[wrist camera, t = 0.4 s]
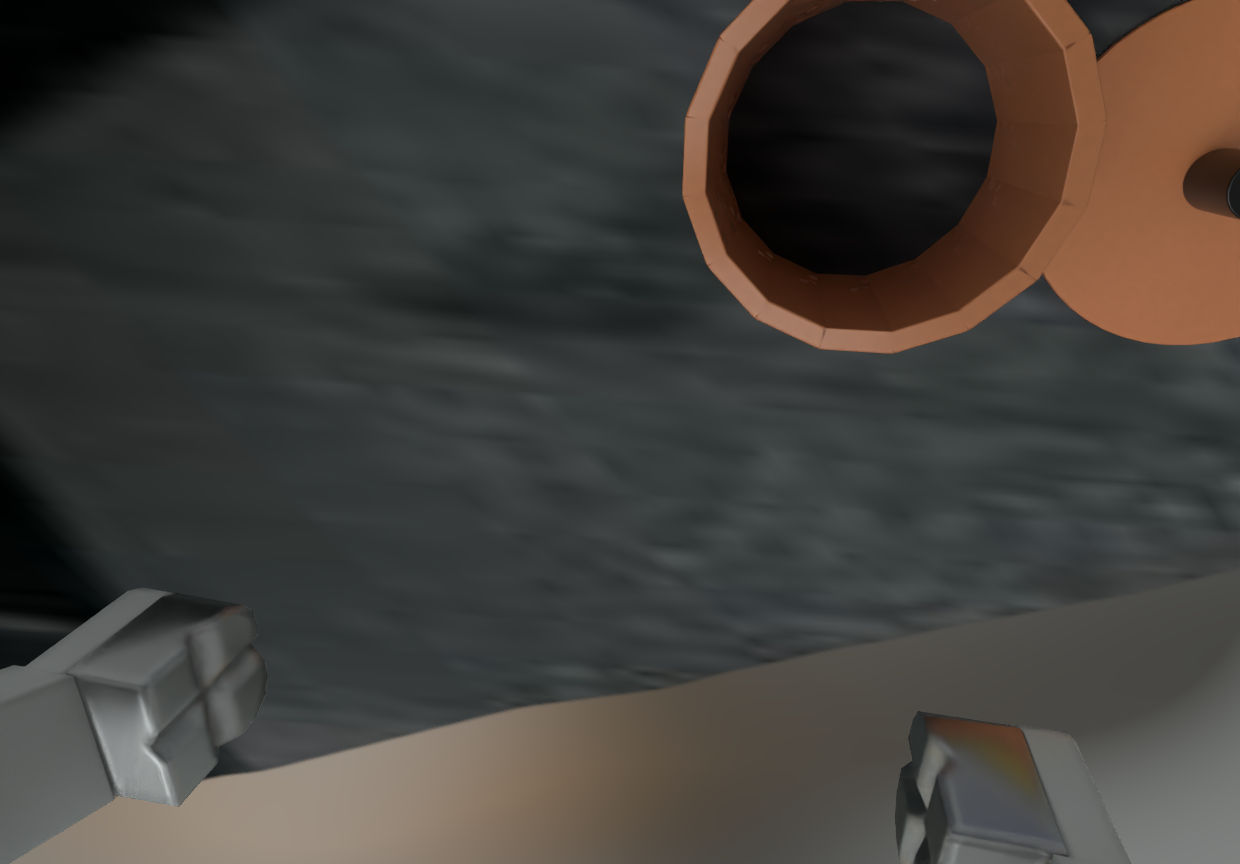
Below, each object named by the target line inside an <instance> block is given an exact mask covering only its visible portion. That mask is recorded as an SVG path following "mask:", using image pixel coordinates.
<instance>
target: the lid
mask: <svg viewBox="0 0 1240 864" xmlns="http://www.w3.org/2000/svg"><path fill="white" fill-rule="evenodd" d="M1097 64H1098V70H1099V75H1100V81H1101V86H1102V92H1103V97H1104V103H1105V108H1106V114H1107V120H1106V121H1107V126H1106V130H1105V135H1104V139H1103V143H1102V147H1101V151H1100V156H1099V160H1098V164H1097V168H1096V173H1095V177H1094V181H1093V185H1092V189H1091V194H1090V198H1089V202H1088V206H1087V207H1086V210H1085V212H1084V213H1083V215H1082V216H1081V217H1080V219H1079V220H1078V222H1077V223H1076V225H1075V226H1074V228H1073V229H1072V231H1071V232H1070V234H1069V235H1068V237H1067V238H1066V239H1065V241H1064V242H1063V244H1062V245H1061V247H1060V248H1059V250H1058V251H1057V253H1056V254H1055V256H1054V257H1053V259H1052V260H1051V262H1050V263H1049V264H1048V266H1047V267H1046V269H1045V270H1044V272H1043V273H1042V274H1043V276H1044V277H1045V279H1046V280H1047V282H1048V283H1049V285H1050V286H1051V288H1052V289H1053V290H1054V292H1055V293H1056V294H1057V295H1058V296H1059V297H1060V298H1061V299H1062V300H1063V301H1064V302H1065V303H1066V304H1067V306H1069V307H1070V308H1071V309H1072V310H1074V311H1075V312H1076V313H1078V314H1079V315H1080V316H1082V317H1083V318H1084V319H1086V320H1087V321H1089V322H1091V323H1093V324H1094V325H1096V326H1098V327H1100V328H1102V329H1103V330H1106V331H1108V332H1111V333H1114V334H1116V335H1119V336H1121V337H1124V338H1128V339H1133V340H1137V341H1141V342H1146V343H1154V344H1163V345H1194V344H1203V343H1212V342H1217V341H1222V340H1227V339H1231V338H1236V337H1240V0H1189V1H1186V2H1184V3H1182V4H1180V5H1178V6H1175V7H1173V8H1171V9H1169V10H1167V11H1165V12H1162V13H1160V14H1158V15H1157V16H1155V17H1153V18H1152V19H1150V20H1148V21H1147V22H1145V23H1143V24H1142V25H1140V26H1138V27H1137V28H1135V29H1134V30H1132V31H1131V32H1130V33H1128V34H1127V35H1126V36H1124V37H1123V38H1121V39H1120V40H1119V41H1117V42H1116V43H1115V44H1113V45H1112V46H1111V47H1110V48H1109V49H1108V50H1107V51H1105V52H1104V53H1103V54H1102V55H1101V56H1100V57H1099V58H1098V59H1097Z"/></svg>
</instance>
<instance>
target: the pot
mask: <svg viewBox="0 0 1240 864" xmlns="http://www.w3.org/2000/svg"><path fill="white" fill-rule="evenodd" d="M880 1H903V2H905V3H907V4H909V5H911V6H913V7H916V8H918V9H920V10H922V11H924V12H926V13H929V14H931V15H933V16H935V17H937V18H939V19H941V20H944V21H946V22H948V23H950V24H952V25H953V27H954V28H955V29H956V30H957V32H958V33H959V34H960V36H961V37H962V38H963V39H964V41H965V42H966V43H967V44H968V46H969V47H970V48H971V49H972V51H973V52H974V53H975V55H976V56H977V57H978V58H979V60H980V61H981V62H982V63H983V65H984V66H985V68H986V73H987V77H988V81H989V86H990V90H991V95H992V99H993V104H994V108H995V113H996V117H997V126H996V131H995V136H994V142H993V147H992V153H991V158H990V163H989V169H988V174H987V178H986V179H985V181H984V183H983V184H982V186H981V187H980V189H979V191H978V192H977V194H976V196H975V197H974V199H973V201H972V202H971V204H970V205H969V207H968V209H967V210H966V212H965V214H964V215H963V217H962V219H961V220H960V222H959V223H958V225H957V226H956V227H954V228H953V229H952V230H951V231H949V232H948V233H947V234H946V235H944V236H943V237H942V238H941V239H939V240H938V241H937V242H936V243H934V244H933V245H932V246H931V247H929V248H928V249H927V250H926V251H924V252H923V253H922V254H921V255H919V256H918V257H917V258H916V259H914V260H911V261H908V262H905V263H902V264H899V265H896V266H893V267H890V268H887V269H884V270H881V271H878V272H875V273H872V274H869V275H866V276H859V275H837V274H816V273H814V272H812V271H810V270H808V269H806V268H803V267H801V266H799V265H797V264H795V263H793V262H791V261H789V260H786V259H784V258H782V257H780V256H778V255H776V254H774V253H773V252H772V251H771V250H770V249H769V248H768V247H767V246H766V244H765V243H764V242H763V241H762V240H761V239H760V238H759V237H758V235H757V234H756V233H755V232H754V231H753V230H752V229H751V227H750V226H749V225H748V224H747V223H746V222H745V221H744V220H743V218H742V216H741V213H740V210H739V207H738V204H737V201H736V199H735V196H734V193H733V190H732V187H731V184H730V181H729V178H728V175H727V172H726V167H727V150H728V133H729V118H730V116H731V113H732V111H733V109H734V107H735V105H736V102H737V100H738V98H739V96H740V93H741V91H742V89H743V87H744V84H745V82H746V80H747V78H748V75H749V73H750V71H751V69H752V67H753V66H754V65H755V64H756V63H757V62H758V61H759V60H760V59H761V58H762V57H763V56H764V55H765V54H766V53H767V52H768V51H769V49H770V48H771V47H772V46H773V45H774V44H775V43H776V42H777V41H778V40H779V39H780V38H781V37H782V36H783V35H784V34H785V33H786V32H787V31H788V30H789V29H790V28H791V27H792V26H794V25H796V24H798V23H800V22H802V21H805V20H807V19H809V18H811V17H813V16H816V15H818V14H820V13H822V12H825V11H827V10H829V9H831V8H833V7H836V6H838V5H840V4H842V3H844V2H880ZM719 37H720V38H719V39H718V40H717V42H716V44H715V47H714V49H713V51H712V54H711V56H710V59H709V61H708V63H707V66H706V68H705V71H704V73H703V75H702V78H701V80H700V82H699V85H698V87H697V90H696V92H695V94H694V97H693V99H692V101H691V104H690V106H689V109H688V111H687V114H686V116H687V117H685V134H684V161H683V188H682V195H683V200H684V203H685V206H686V208H687V211H688V214H689V217H690V220H691V222H692V225H693V228H694V231H695V234H696V237H697V239H698V242H699V245H700V248H701V251H702V253H703V256H704V259H705V262H706V264H707V265H708V268H709V269H710V270H711V271H712V272H713V273H714V274H715V275H716V277H717V278H718V279H719V280H720V281H721V282H722V283H723V284H724V285H725V287H726V288H727V289H728V290H729V291H730V292H731V293H732V294H733V295H734V296H735V298H736V299H737V300H738V301H739V302H740V303H741V304H742V305H743V306H744V308H745V309H746V310H747V311H748V312H749V313H750V314H751V315H752V316H753V317H754V318H755V317H756V319H757V320H758V321H761V322H763V323H765V324H767V325H769V326H771V327H773V328H775V329H778V330H780V331H782V332H784V333H786V334H788V335H790V336H792V337H795V338H797V339H799V340H801V341H803V342H805V343H807V344H809V345H812V346H814V347H816V348H819V349H824V350H840V351H856V352H873V353H889V354H892V353H897V352H900V351H903V350H907V349H910V348H913V347H917V346H920V345H923V344H926V343H930V342H933V341H936V340H940V339H943V338H946V337H950V336H953V335H956V334H960V333H963V332H966V331H968V329H969V330H970V329H972V328H973V327H974V326H976V325H977V324H979V323H980V322H981V321H983V320H984V319H985V318H987V317H988V316H989V315H991V314H992V313H994V312H995V311H996V310H998V309H999V308H1000V307H1002V306H1003V305H1005V304H1006V303H1007V302H1009V301H1010V300H1011V299H1013V298H1014V297H1015V296H1017V295H1018V294H1020V293H1021V292H1022V291H1024V290H1025V289H1026V288H1028V287H1029V286H1030V285H1032V284H1033V283H1035V281H1036V280H1038V279H1039V278H1040V276H1041V275H1042V273H1043V272H1044V270H1045V269H1046V267H1047V266H1048V264H1049V263H1050V262H1051V260H1052V259H1053V257H1054V256H1055V254H1056V253H1057V251H1058V250H1059V248H1060V247H1061V245H1062V244H1063V242H1064V241H1065V239H1066V238H1067V237H1068V235H1069V234H1070V232H1071V231H1072V229H1073V228H1074V226H1075V225H1076V223H1077V222H1078V220H1079V219H1080V217H1081V216H1082V215H1083V213H1084V212H1085V210H1086V207H1087V206H1088V202H1089V198H1090V194H1091V189H1092V185H1093V181H1094V177H1095V173H1096V168H1097V164H1098V160H1099V156H1100V151H1101V147H1102V143H1103V139H1104V135H1105V130H1106V126H1107V121H1106V120H1107V114H1106V108H1105V103H1104V97H1103V92H1102V86H1101V81H1100V75H1099V70H1098V64H1097V59H1096V53H1095V48H1094V42H1093V37H1092V34H1090V31H1089V29H1088V28H1087V27H1086V25H1085V24H1084V23H1083V21H1082V20H1081V19H1080V17H1079V16H1078V15H1077V13H1076V12H1075V11H1074V9H1073V8H1072V7H1071V5H1070V4H1069V3H1068V1H1067V0H752V1H751V2H750V3H749V5H748V6H747V7H746V8H745V9H744V10H743V11H742V12H741V13H740V14H739V15H738V16H737V17H736V18H735V19H734V21H733V22H732V23H731V24H730V25H729V26H728V27H727V28H726V29H725V30H724V31H723V32H722V33H721V34H720V36H719Z"/></svg>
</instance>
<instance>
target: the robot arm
mask: <svg viewBox="0 0 1240 864" xmlns="http://www.w3.org/2000/svg"><path fill="white" fill-rule="evenodd" d="M258 633H259V631H258V627H257V623H256V620H255V616H254V612H253V611H252V610H251V609H249V608H247V607H245V606H243V605H239V604H234V603H228V602H223V601H217V600H212V599H206V598H201V597H196V596H190V595H185V594H179V593H175V594H174V593H169V592H164V591H159V590H153V589H148V588H139V589H135V590H130V591H127V592H126V593H124V594H123V595H122V596H120V597H119V598H118V599H116V600H115V601H114V602H112V603H111V604H110V605H108V606H107V607H105V608H104V609H103V610H101V611H100V612H99V613H97V614H96V615H95V616H93V617H92V618H91V619H89V620H88V621H86V622H85V623H84V624H82V625H81V626H80V627H78V628H77V629H76V630H74V631H73V632H72V633H70V634H69V635H67V636H66V637H65V638H63V639H62V640H61V641H59V642H58V643H57V644H55V645H54V646H53V647H51V648H50V649H48V650H47V651H46V652H44V653H43V654H42V655H40V656H39V657H38V658H36V659H35V660H34V661H32V662H31V663H29V664H28V665H27V666H25V667H21V666H15V665H13V666H10V667H7V668H5V669H2V670H0V864H9V863H11V862H13V861H14V860H16V859H18V858H19V857H21V856H23V855H24V854H26V853H28V852H29V851H31V850H32V849H34V848H36V847H37V846H39V845H41V844H42V843H44V842H46V841H47V840H49V839H50V838H52V837H54V836H55V835H57V834H59V833H60V832H62V831H64V830H65V829H67V828H69V827H70V826H72V825H73V824H75V823H77V822H78V821H80V820H82V819H83V818H85V817H87V816H88V815H90V814H92V813H93V812H95V811H96V810H98V809H100V808H101V807H103V806H105V805H106V804H108V803H109V802H111V801H113V800H114V799H115V797H114V795H116V796H121V797H127V798H133V799H139V800H144V801H150V802H155V803H161V804H167V805H173V806H178V807H179V806H180V805H181V804H182V803H183V802H184V800H185V799H186V798H187V797H188V796H189V795H190V794H191V792H192V791H193V790H194V789H195V788H196V786H197V785H198V784H199V783H200V782H201V781H202V780H203V779H204V777H205V776H206V775H207V774H208V773H209V772H210V770H211V769H212V768H213V767H214V766H215V765H216V764H217V761H218V746H220V745H222V744H224V743H226V742H228V741H230V740H232V739H234V738H236V737H237V736H239V735H241V734H242V733H243V732H244V731H245V730H246V728H247V727H248V726H249V725H250V723H251V722H252V721H253V720H254V719H255V717H256V716H257V714H258V711H259V709H260V706H261V704H262V702H263V699H264V697H265V695H266V687H267V670H266V665H265V660H264V659H263V658H262V657H261V655H260V654H259V653H258V652H257V651H256V649H255V648H254V647H253V646H252V645H251V643H252V642H253V640H254V639H255V637H256V636H257V634H258ZM909 744H910V750H911V755H912V761H911V762H910V763H909V764H907V765H906V766H904V767H903V768H902V769H901V773H900V778H899V783H898V788H897V796H896V811H895V812H896V813H895V824H896V839H897V847H898V855H899V860H900V861H901V862H902V863H903V864H1131V862H1130V860H1129V858H1128V856H1127V853H1126V851H1125V849H1124V847H1123V845H1122V843H1121V840H1120V838H1119V836H1118V834H1117V832H1116V829H1115V827H1114V825H1113V823H1112V821H1111V818H1110V816H1109V814H1108V812H1107V810H1106V808H1105V805H1104V803H1103V801H1102V799H1101V796H1100V794H1099V792H1098V790H1097V788H1096V786H1095V783H1094V781H1093V779H1092V777H1091V775H1090V772H1089V770H1088V768H1087V766H1086V764H1085V761H1084V759H1083V757H1082V755H1081V753H1080V750H1079V748H1078V746H1077V744H1076V742H1075V740H1074V739H1073V738H1072V737H1071V736H1070V735H1069V734H1068V733H1067V732H1062V731H1056V730H1048V729H1040V728H1033V727H1027V726H1020V725H1016V726H1011V725H1007V724H1000V723H993V722H987V721H980V720H973V719H966V718H959V717H953V716H947V715H940V714H933V713H927V712H920V711H918V712H917V714H916V716H915V717H914V719H913V723H912V726H911V730H910V734H909Z"/></svg>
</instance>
